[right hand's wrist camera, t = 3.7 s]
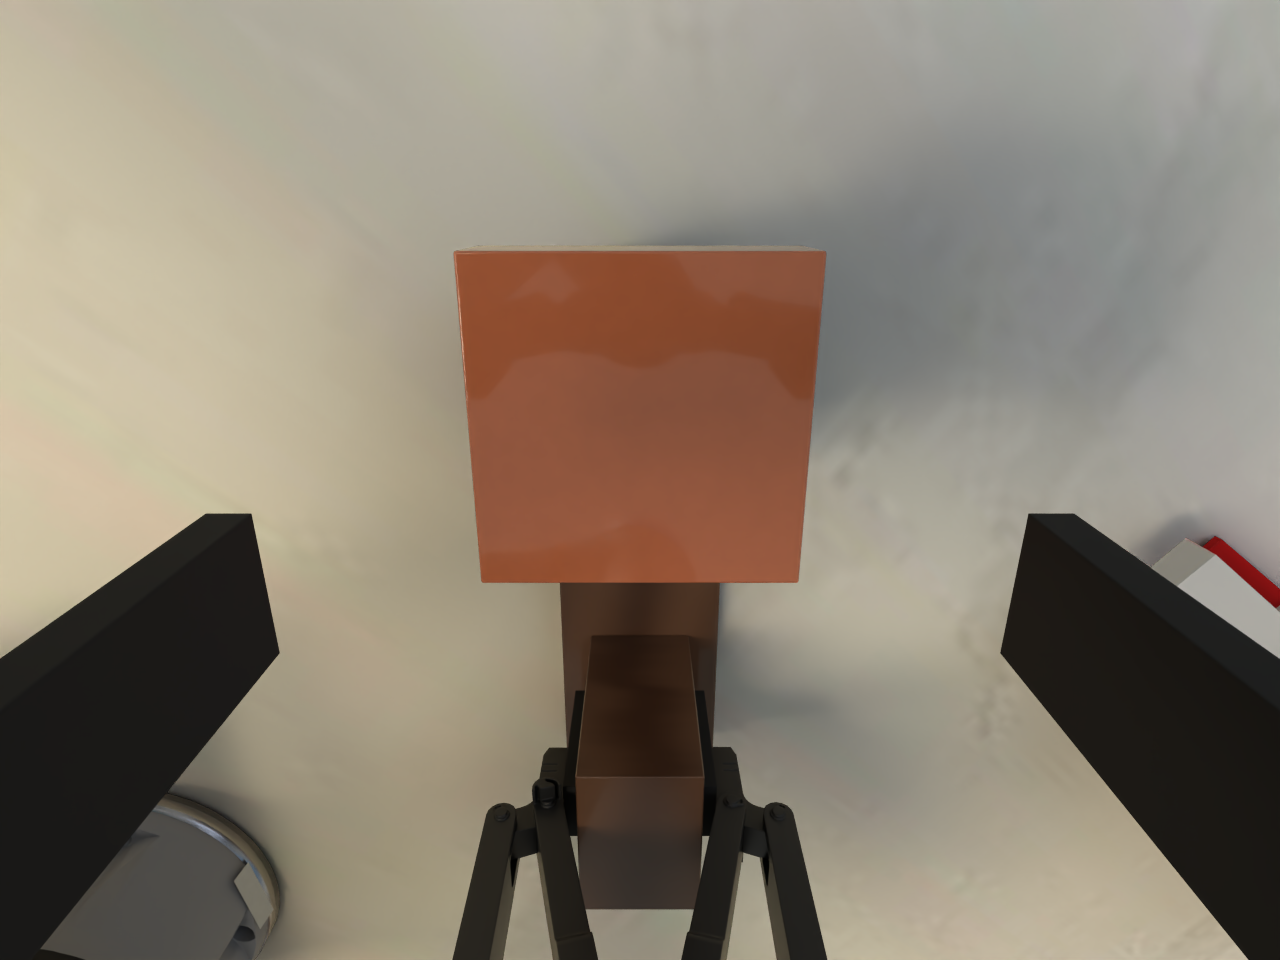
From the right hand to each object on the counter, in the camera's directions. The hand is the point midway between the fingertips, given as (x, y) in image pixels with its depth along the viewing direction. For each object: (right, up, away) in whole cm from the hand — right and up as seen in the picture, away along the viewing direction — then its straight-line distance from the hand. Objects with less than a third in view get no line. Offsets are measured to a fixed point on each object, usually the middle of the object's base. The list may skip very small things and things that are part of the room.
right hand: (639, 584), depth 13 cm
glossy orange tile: (0, +5, +13) cm, 13 cm away
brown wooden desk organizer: (0, 0, +24) cm, 24 cm away
